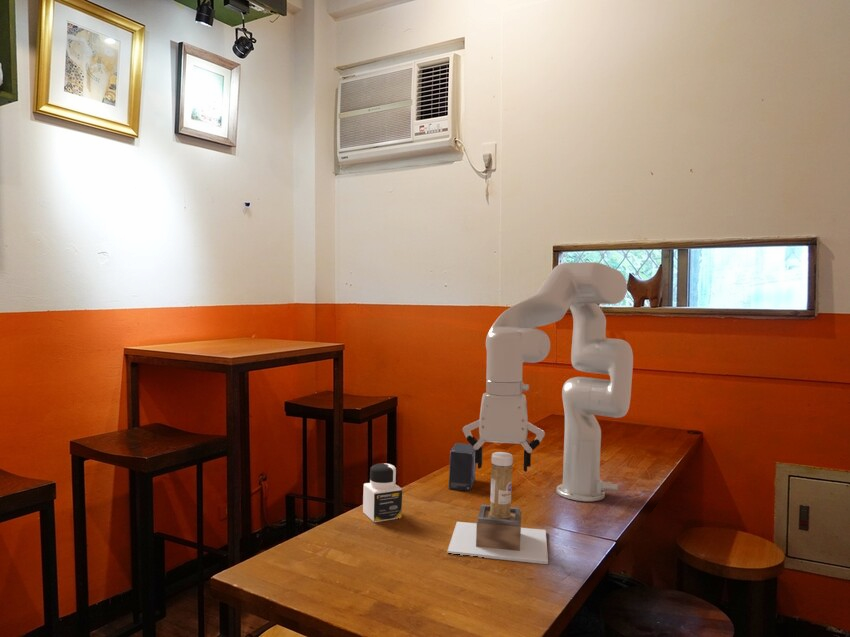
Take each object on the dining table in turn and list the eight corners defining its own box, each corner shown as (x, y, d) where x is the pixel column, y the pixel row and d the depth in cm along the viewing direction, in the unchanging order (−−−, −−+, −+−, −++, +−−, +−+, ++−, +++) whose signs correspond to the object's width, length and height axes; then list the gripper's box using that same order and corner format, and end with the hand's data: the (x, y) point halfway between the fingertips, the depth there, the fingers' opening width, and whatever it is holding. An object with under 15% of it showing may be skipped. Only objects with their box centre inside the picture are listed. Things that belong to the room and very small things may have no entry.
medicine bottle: (373, 523, 133) (375, 471, 133) (362, 512, 139) (363, 463, 139) (402, 518, 136) (403, 467, 136) (389, 508, 143) (390, 459, 142)
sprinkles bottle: (508, 522, 121) (510, 458, 120) (486, 518, 123) (488, 455, 122) (512, 514, 125) (515, 452, 125) (492, 510, 127) (494, 450, 126)
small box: (471, 491, 157) (472, 453, 156) (447, 489, 158) (449, 451, 158) (476, 479, 167) (477, 443, 167) (453, 478, 168) (454, 442, 168)
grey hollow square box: (520, 533, 128) (521, 507, 128) (519, 551, 119) (520, 523, 119) (479, 529, 129) (480, 503, 129) (475, 546, 120) (476, 518, 120)
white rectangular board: (545, 532, 130) (545, 529, 130) (547, 564, 115) (547, 561, 115) (456, 524, 134) (456, 521, 134) (447, 553, 118) (447, 550, 118)
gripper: (545, 387, 125) (543, 465, 126) (465, 384, 128) (464, 460, 129) (546, 393, 118) (544, 476, 119) (461, 389, 121) (460, 470, 122)
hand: (502, 468), depth 124 cm, fingers open, 9 cm apart
